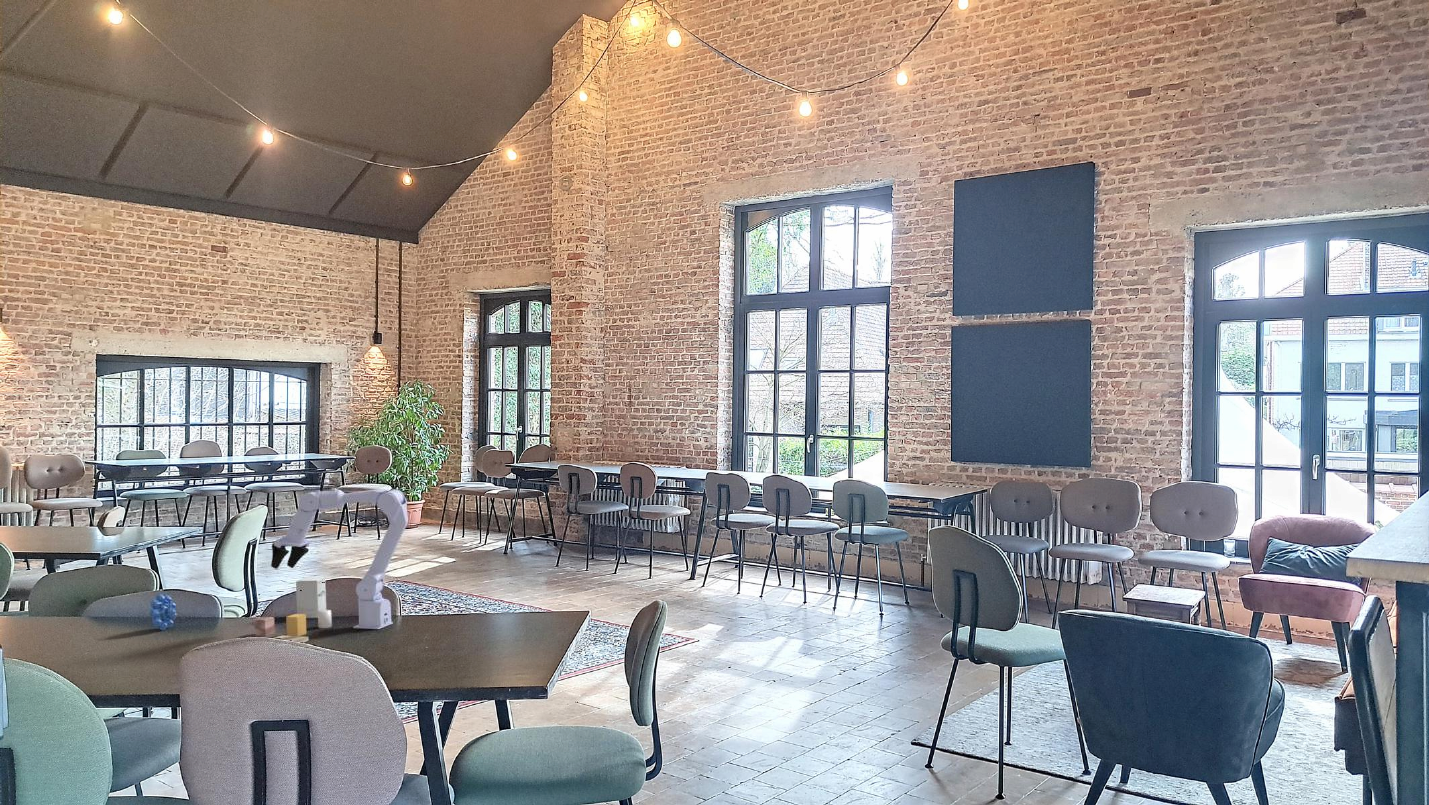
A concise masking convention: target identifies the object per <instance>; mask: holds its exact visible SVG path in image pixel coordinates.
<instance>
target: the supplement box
mask: <svg viewBox="0 0 1429 805" xmlns="http://www.w3.org/2000/svg"><path fill="white" fill-rule="evenodd" d="M322 582H325V583H322ZM326 587H327V586H326V576H309V577H302V578H300V579H298V580H296V581H295V588H296V589H295V594H296V595H295V596H296V597H295V598H296V614H306V619H318V611H321V610H327V591H326V590H327V588H326ZM300 590H302V591H300Z"/></svg>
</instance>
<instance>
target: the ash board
mask: <svg viewBox="0 0 1429 805" xmlns="http://www.w3.org/2000/svg"><path fill="white" fill-rule="evenodd" d="M274 638H281V639H283V640H292V641H296V642H303V643H306V642H309V636H304V635H301V636H287V635H278V636H274ZM303 643H302V644H303Z"/></svg>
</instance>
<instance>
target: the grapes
mask: <svg viewBox="0 0 1429 805" xmlns="http://www.w3.org/2000/svg"><path fill="white" fill-rule="evenodd" d="M176 606H177V605H176V602H174V600H172V597H171V595H169V594H163V593H159V594H157V595H156V596H155V599H153V600H152V601H151V602H150V607H151V608H152V609H151V610H150V611H149V613H148V614H149V617H150V618H151V619H152V625H153V627H156V628H158V629H159V630H161V631H166V630H167V629H168V628H172V627H173V625H174V624H175V622H174V620H175V619H176V617H177V615H178V614H177V611H176Z"/></svg>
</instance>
